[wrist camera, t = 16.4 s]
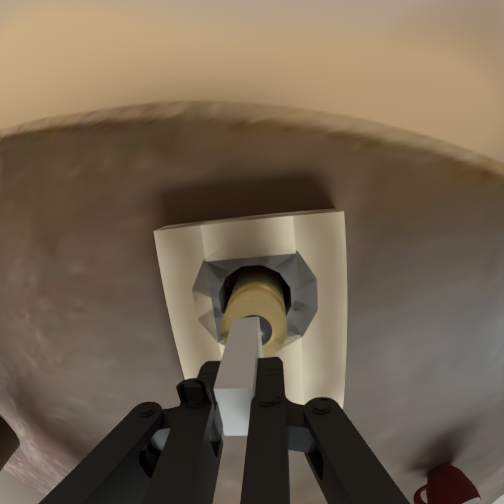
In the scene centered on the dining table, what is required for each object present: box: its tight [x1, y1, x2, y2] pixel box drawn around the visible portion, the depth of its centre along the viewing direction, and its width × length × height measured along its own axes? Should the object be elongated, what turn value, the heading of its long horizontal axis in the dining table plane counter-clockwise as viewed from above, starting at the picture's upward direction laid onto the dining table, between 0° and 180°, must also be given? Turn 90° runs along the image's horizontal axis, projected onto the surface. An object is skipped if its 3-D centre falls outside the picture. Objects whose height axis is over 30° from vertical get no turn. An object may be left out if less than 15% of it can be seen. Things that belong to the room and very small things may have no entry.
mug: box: [414, 464, 481, 504], centre depth 26 cm, size 11×8×10 cm
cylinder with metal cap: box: [221, 265, 287, 358], centre depth 22 cm, size 4×4×8 cm
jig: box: [154, 208, 347, 409], centre depth 25 cm, size 14×18×3 cm
